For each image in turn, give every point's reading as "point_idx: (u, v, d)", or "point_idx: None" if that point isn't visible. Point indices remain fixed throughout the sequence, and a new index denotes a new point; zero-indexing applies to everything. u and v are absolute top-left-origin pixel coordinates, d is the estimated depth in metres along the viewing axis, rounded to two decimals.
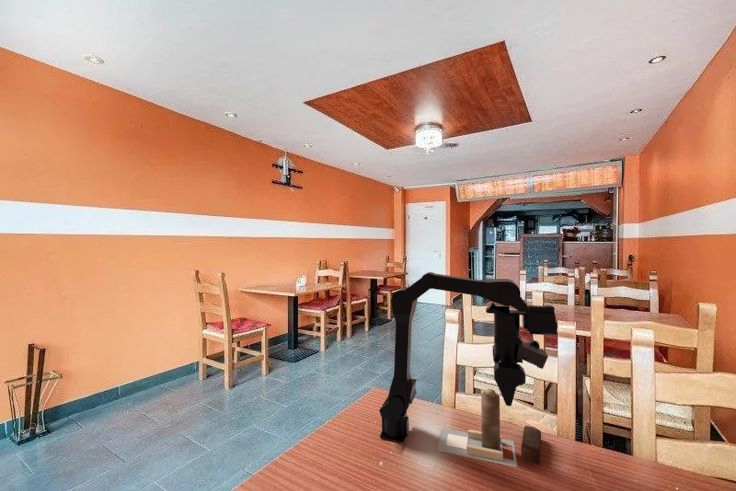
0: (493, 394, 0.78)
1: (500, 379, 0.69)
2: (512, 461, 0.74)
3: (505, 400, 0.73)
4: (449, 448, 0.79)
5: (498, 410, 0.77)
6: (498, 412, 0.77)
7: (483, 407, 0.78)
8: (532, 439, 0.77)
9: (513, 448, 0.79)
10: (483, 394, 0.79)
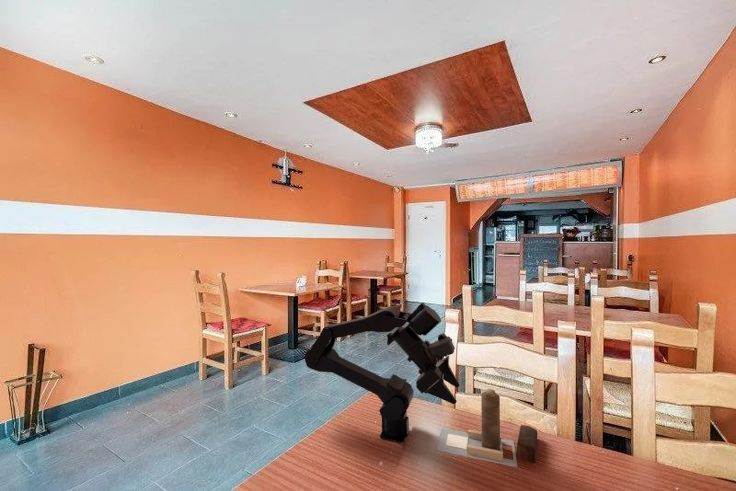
0: (493, 394, 0.78)
1: (423, 390, 0.75)
2: (512, 461, 0.74)
3: (449, 401, 0.77)
4: (449, 448, 0.79)
5: (498, 410, 0.77)
6: (498, 412, 0.77)
7: (483, 407, 0.78)
8: (528, 438, 0.77)
9: (513, 448, 0.79)
10: (483, 394, 0.79)
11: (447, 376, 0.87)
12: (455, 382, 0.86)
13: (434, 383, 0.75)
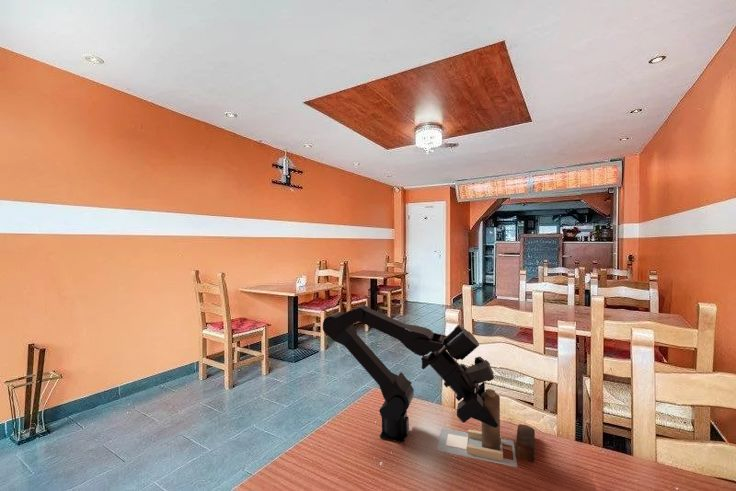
0: (493, 394, 0.78)
1: (465, 419, 0.72)
2: (512, 461, 0.74)
3: (490, 424, 0.76)
4: (449, 448, 0.79)
5: (498, 410, 0.77)
6: (498, 412, 0.77)
7: None
8: (526, 437, 0.78)
9: (513, 448, 0.79)
10: (483, 394, 0.79)
11: None
12: None
13: None
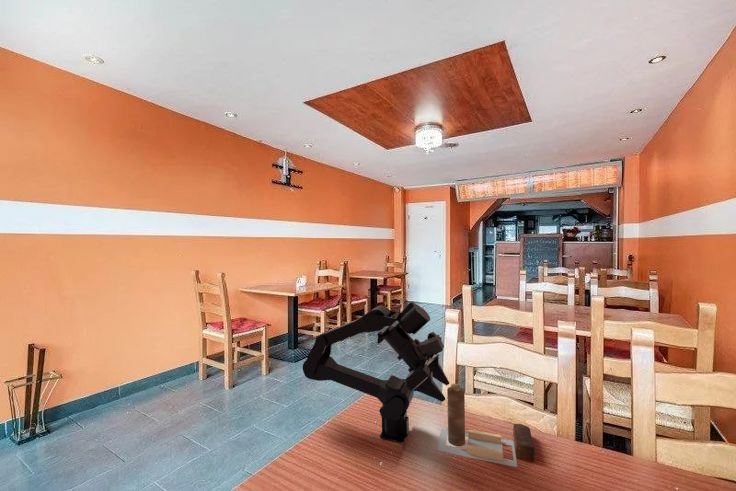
0: (458, 388, 0.81)
1: (412, 388, 0.76)
2: (512, 461, 0.74)
3: (437, 398, 0.78)
4: (449, 448, 0.79)
5: (463, 404, 0.80)
6: (463, 405, 0.80)
7: (448, 401, 0.81)
8: (525, 437, 0.78)
9: (513, 448, 0.79)
10: (449, 388, 0.82)
11: (437, 374, 0.88)
12: (445, 380, 0.87)
13: (423, 381, 0.76)
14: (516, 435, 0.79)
